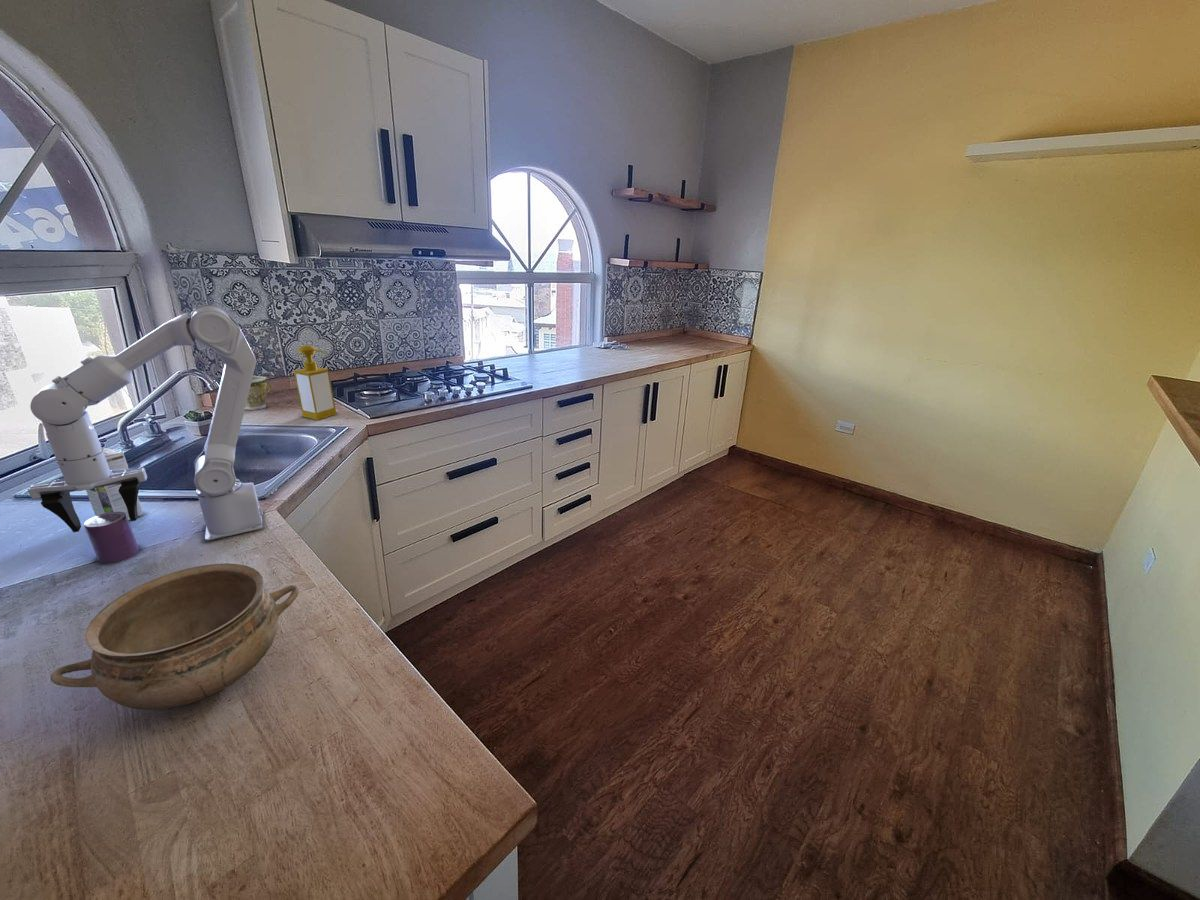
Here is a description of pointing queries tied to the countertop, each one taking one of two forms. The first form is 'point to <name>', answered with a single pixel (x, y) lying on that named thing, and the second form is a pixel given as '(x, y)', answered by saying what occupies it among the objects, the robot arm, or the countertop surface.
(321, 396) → the soap bottle
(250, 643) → the cooking pot
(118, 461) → the syrup box
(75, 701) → the countertop surface
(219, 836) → the countertop surface
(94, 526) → the dish top
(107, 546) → the dish middle
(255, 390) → the ceramic cup
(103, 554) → the dish bottom
